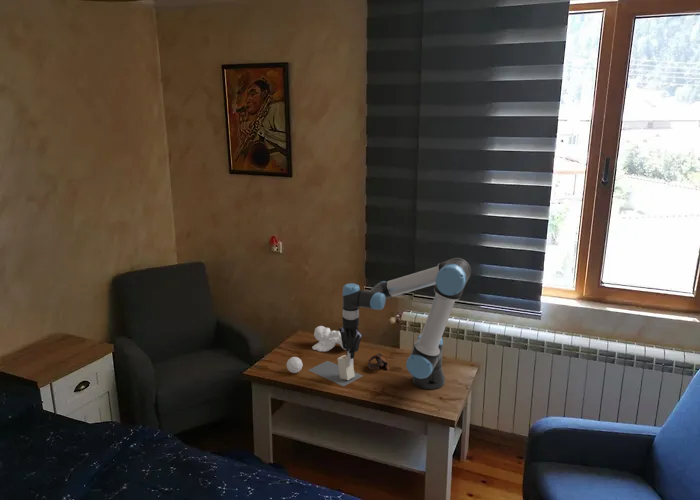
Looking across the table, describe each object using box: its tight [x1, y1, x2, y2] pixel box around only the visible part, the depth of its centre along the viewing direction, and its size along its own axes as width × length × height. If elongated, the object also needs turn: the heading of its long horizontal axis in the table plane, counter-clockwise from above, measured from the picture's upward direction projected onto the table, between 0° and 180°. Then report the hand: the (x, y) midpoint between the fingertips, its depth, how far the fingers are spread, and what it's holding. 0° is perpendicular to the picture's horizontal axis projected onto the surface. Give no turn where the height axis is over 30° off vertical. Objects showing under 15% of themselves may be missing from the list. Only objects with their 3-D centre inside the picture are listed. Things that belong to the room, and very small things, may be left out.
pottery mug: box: [367, 353, 390, 371], centre depth 269 cm, size 12×10×8 cm
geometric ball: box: [285, 356, 303, 374], centre depth 265 cm, size 8×8×8 cm
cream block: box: [337, 354, 355, 380], centre depth 258 cm, size 5×5×10 cm
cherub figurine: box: [311, 325, 346, 353], centre depth 290 cm, size 13×12×20 cm
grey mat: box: [308, 360, 364, 387], centre depth 264 cm, size 24×14×1 cm, turn 48°
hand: (350, 363), depth 255 cm, fingers closed
